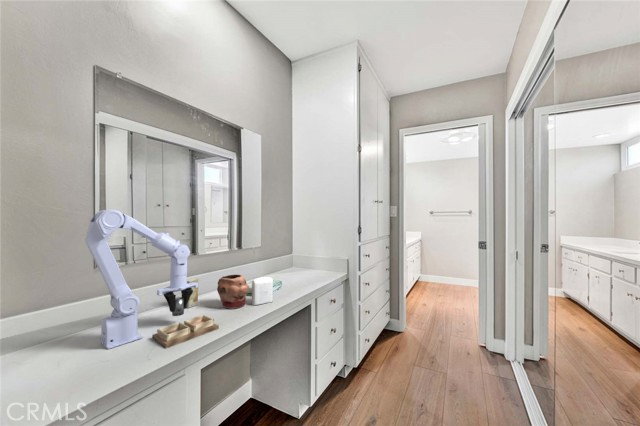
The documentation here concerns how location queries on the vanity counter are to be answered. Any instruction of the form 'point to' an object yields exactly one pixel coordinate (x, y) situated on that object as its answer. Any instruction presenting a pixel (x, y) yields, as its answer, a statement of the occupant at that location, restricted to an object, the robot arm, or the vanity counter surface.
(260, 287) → the photo printer
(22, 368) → the vanity counter surface
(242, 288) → the decorative planter
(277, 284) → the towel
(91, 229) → the robot arm
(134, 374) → the vanity counter surface
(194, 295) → the skincare box
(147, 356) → the vanity counter surface
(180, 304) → the grey metal peg
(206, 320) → the socket board
